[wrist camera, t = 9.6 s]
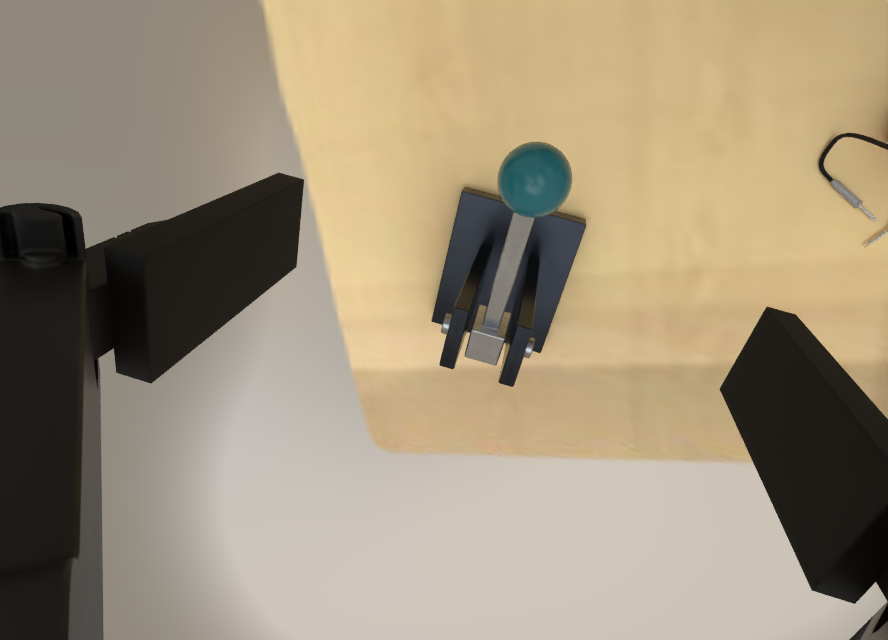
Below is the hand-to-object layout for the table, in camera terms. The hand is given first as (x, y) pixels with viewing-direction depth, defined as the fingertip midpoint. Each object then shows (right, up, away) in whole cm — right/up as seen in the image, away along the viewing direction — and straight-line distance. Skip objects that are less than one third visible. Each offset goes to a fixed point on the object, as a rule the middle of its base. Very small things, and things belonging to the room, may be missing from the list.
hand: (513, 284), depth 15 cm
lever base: (+3, +3, +31) cm, 31 cm away
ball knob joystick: (+2, +3, +17) cm, 17 cm away
